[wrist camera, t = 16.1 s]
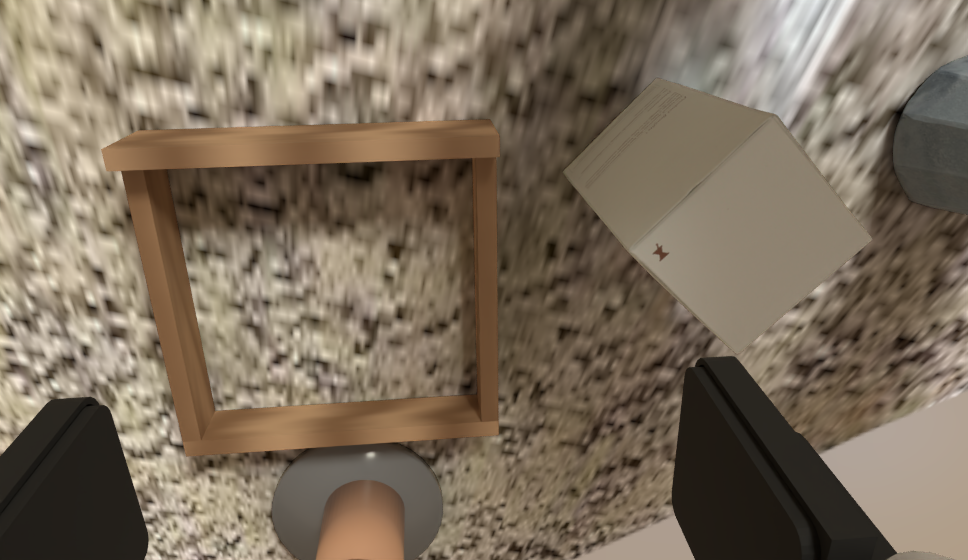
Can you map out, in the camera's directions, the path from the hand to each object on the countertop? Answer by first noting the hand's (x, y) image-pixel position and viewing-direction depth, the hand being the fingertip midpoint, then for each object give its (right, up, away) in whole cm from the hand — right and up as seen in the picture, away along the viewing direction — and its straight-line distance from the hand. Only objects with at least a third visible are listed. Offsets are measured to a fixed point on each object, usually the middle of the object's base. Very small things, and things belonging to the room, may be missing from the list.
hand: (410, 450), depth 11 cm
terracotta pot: (-7, -12, +33) cm, 36 cm away
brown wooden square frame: (-7, +3, +28) cm, 29 cm away
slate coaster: (-7, -12, +34) cm, 37 cm away
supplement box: (+11, +9, +27) cm, 30 cm away
